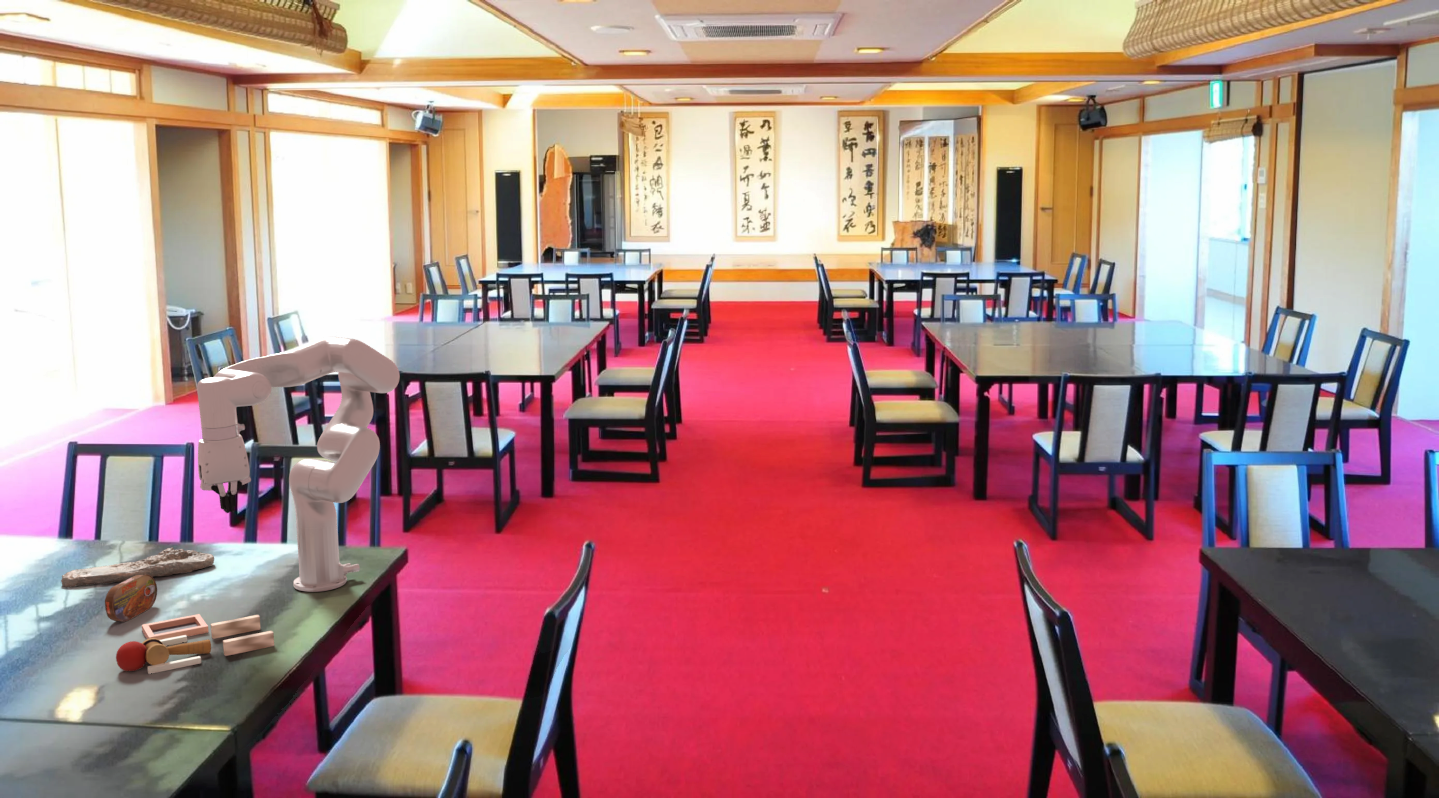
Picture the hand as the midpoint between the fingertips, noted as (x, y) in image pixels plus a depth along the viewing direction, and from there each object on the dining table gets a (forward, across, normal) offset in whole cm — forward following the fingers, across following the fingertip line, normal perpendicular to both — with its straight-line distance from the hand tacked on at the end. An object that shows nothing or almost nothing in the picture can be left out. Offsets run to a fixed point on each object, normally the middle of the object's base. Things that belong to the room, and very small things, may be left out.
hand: (228, 511), depth 272 cm
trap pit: (+24, +15, +3) cm, 29 cm away
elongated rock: (+26, +12, -44) cm, 52 cm away
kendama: (+24, +20, +19) cm, 37 cm away
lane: (+24, +4, +18) cm, 30 cm away
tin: (+25, +20, -14) cm, 35 cm away
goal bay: (+24, +19, +17) cm, 35 cm away
